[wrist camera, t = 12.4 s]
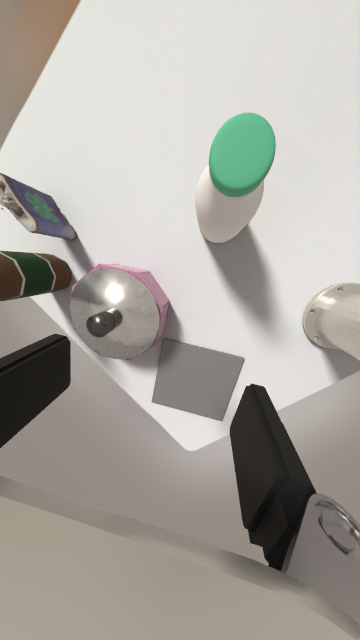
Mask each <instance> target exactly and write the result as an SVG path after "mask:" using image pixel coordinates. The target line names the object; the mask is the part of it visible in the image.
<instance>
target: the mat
mask: <svg viewBox="0 0 360 640" xmlns="http://www.w3.org/2000/svg"><path fill="white" fill-rule="evenodd" d="M243 361H244V358H243V357H239V356H235V355H231V354H227V353H223V352H219V351H215V350H211V349H206V348H202V347H198V346H194V345H190V344H186V343H182V342H178V341H174V340H170V339H166V338H164V339H163V344H162V349H161V355H160V360H159V366H158V371H157V376H156V382H155V387H154V392H153V398H152V402H153V403H157V404H160V405H164V406H168V407H171V408H175V409H179V410H182V411H186V412H190V413H193V414H197V415H201V416H205V417H208V418H212V419H216V420H219V421H222V418H223V415H224V413H225V410H226V407H227V404H228V402H229V399H230V396H231V394H232V391H233V388H234V385H235V383H236V380H237V377H238V374H239V372H240V369H241V366H242V364H243Z"/></svg>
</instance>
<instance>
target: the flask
mask: <svg viewBox="0 0 360 640" xmlns="http://www.w3.org/2000/svg"><path fill="white" fill-rule="evenodd" d="M0 204H1V205H2V206H5V207H7V208H8V209H9V210H10V212H11V213H12V214H13V215H14V216H15V217H16V219H17V220H18V221H19V222H20V223H21V224H22V225H23V226H24V227H25V228H26V229H27V230H28V231H30V232H32V233H38V234H43V235H49V236H53V237H59V238H64V239H68V240H73V239H74V238H75V237H76V234H75V230H74V228H73V227H72V226H70V224H69V223H68V221H67V219H66V217H65V216H64V215H63V214H62V213H61V212H60V209H59V208H58V207H57V206H56V203H55V202H54V200H53V198H52V197H51V196H49V195H47V194H44V193H42V192H40V191H38V190H36V189H34V188H32V187H30V186H27V185H25V184H23V183H21V182H18V181H16V180H14V179H12V178H10V177H8V176H6V175H4V174H1V173H0ZM1 209H2V210H3V208H1Z"/></svg>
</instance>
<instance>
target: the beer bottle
mask: <svg viewBox="0 0 360 640" xmlns="http://www.w3.org/2000/svg"><path fill="white" fill-rule="evenodd" d="M70 279H71V273H70V271H69V268H68V266H67V264H66V262H65V261H63V260H61V259H59V258H57V257H56V256H54V255H50V254H39V253H24V252H9V251H0V301H6V300H12V299H17V298H23V297H28V296H34V295H39V294H45V293H50V292H54V291H58V290H61V289H64V288H67V287H68V286H69V282H70Z"/></svg>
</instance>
